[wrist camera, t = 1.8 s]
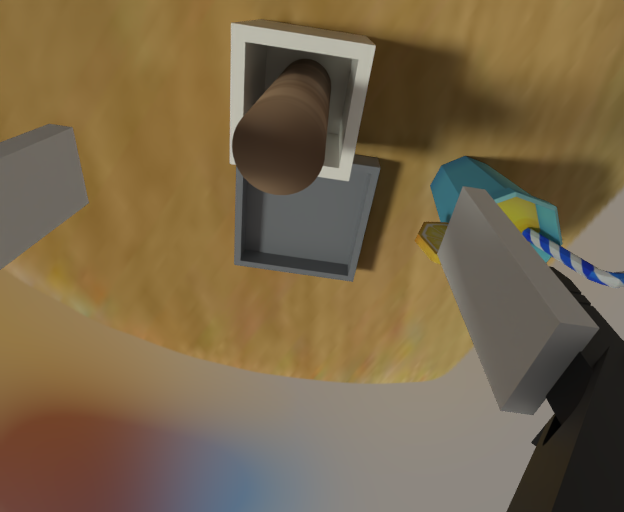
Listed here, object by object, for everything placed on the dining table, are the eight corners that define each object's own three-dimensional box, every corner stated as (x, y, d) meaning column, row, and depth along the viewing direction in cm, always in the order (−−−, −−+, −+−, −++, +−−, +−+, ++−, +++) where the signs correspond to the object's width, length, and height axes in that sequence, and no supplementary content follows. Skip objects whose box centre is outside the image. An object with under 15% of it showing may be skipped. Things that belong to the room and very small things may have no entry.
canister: (260, 19, 28) (231, 22, 20) (365, 35, 28) (375, 45, 21) (255, 127, 32) (229, 163, 25) (346, 141, 32) (348, 181, 25)
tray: (243, 137, 33) (236, 146, 31) (377, 157, 33) (380, 167, 31) (239, 251, 39) (234, 264, 37) (352, 267, 40) (352, 281, 38)
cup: (564, 137, 31) (715, 222, 19) (539, 219, 35) (648, 334, 23) (394, 145, 32) (429, 230, 20) (390, 224, 37) (416, 335, 24)
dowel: (282, 54, 28) (232, 95, 15) (335, 62, 28) (331, 110, 15) (278, 109, 30) (231, 188, 17) (326, 117, 31) (318, 201, 17)
